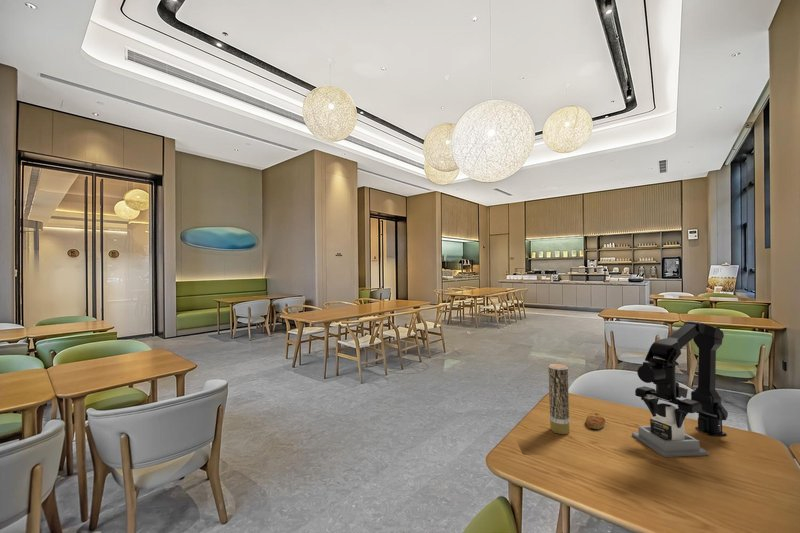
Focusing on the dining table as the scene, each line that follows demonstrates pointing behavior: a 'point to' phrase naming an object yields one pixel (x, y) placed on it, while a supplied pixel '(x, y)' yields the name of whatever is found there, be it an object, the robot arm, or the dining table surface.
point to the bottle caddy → (669, 444)
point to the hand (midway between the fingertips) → (667, 423)
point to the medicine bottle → (666, 423)
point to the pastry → (595, 421)
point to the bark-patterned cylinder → (559, 398)
